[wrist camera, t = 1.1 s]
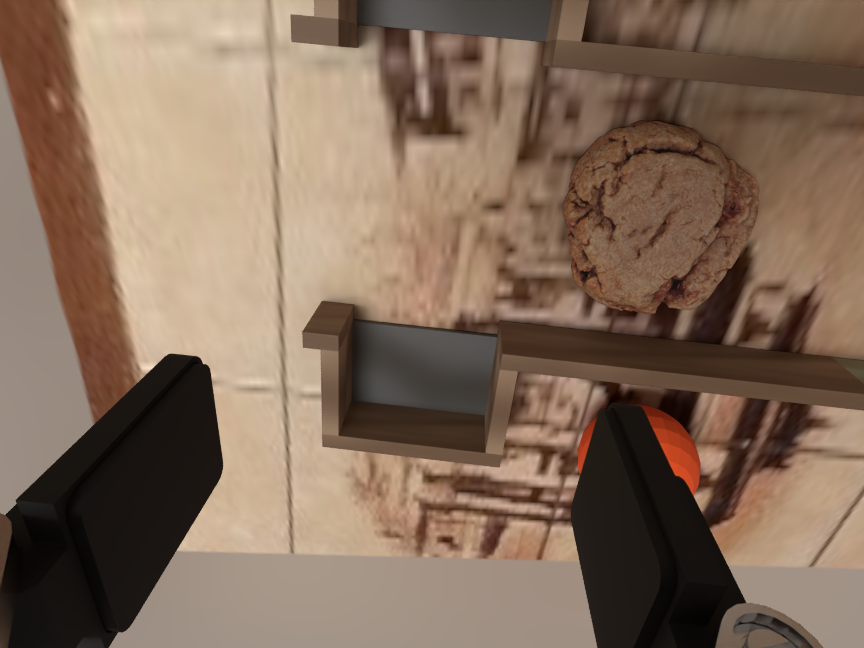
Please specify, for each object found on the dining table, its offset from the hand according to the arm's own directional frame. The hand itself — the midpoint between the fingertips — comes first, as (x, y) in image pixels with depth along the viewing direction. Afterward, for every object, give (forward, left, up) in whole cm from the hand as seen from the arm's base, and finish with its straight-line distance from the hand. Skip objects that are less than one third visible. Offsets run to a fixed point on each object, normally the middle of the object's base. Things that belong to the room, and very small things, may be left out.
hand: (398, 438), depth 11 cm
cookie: (0, +11, -21) cm, 23 cm away
